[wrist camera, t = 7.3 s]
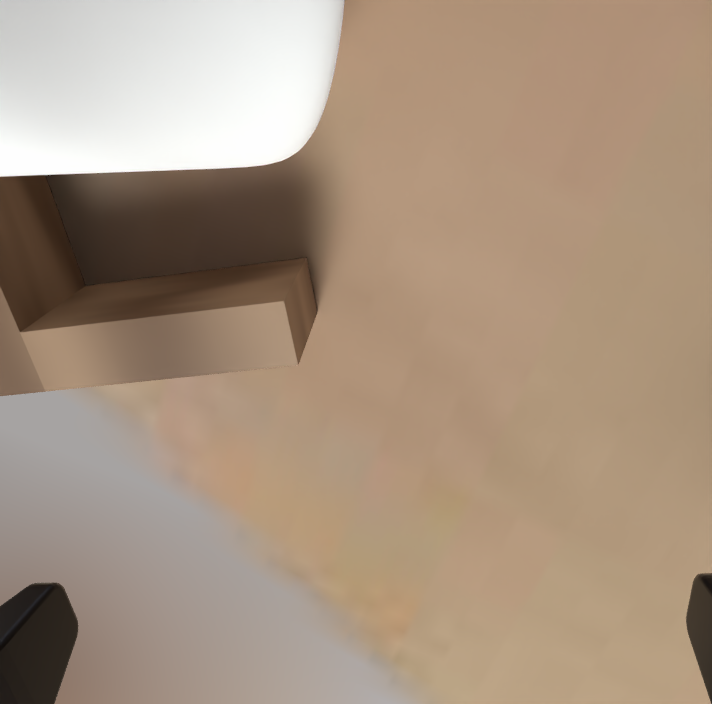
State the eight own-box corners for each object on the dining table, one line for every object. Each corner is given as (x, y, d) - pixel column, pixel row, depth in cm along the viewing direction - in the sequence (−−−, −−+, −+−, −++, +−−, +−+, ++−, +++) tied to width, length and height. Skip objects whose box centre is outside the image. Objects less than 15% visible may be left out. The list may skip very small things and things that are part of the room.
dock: (142, -573, 13) (36, -823, 9) (317, 312, 21) (298, 365, 17) (-262, -435, 14) (-494, -604, 10) (54, 342, 22) (-14, 397, 19)
